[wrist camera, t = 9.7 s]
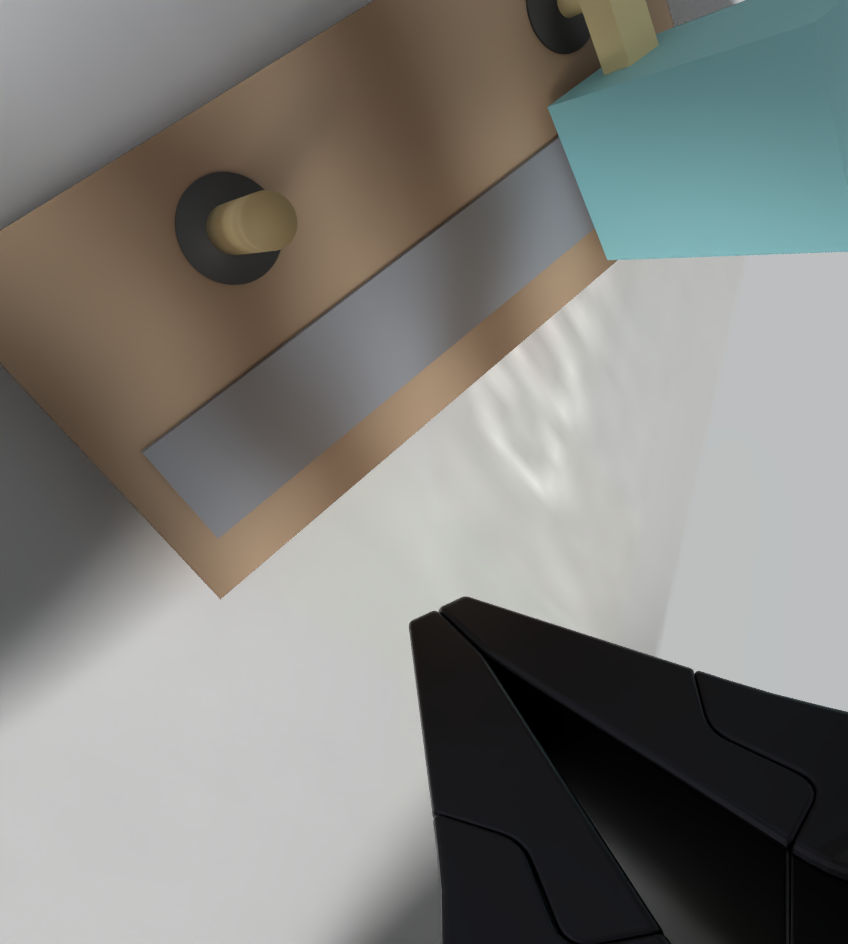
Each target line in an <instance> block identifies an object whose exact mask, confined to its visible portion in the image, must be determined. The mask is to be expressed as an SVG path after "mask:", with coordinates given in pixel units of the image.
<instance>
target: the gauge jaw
mask: <svg viewBox="0 0 848 944" xmlns="http://www.w3.org/2000/svg"><path fill="white" fill-rule="evenodd" d="M557 5H558V8H559V11H560V12H561V14H562V15H563V16H564V17H566V18H572V17H574V16H576V15H578V14H580V13H583V15H584V18H585V21H586V24H587V27H588V30H589V33H590V35H591V38H592V41H593V44H594V47H595V50H596V53H597V56H598V59H599V62H600V64H601V68H600V69H598V70H597V71H596V72H594V73H593V74H592V75H590V76H589V77H588V78H586V79H585V80H583V81H582V82H581V83H579V84H578V85H577V86H575V87H574V88H573V89H571V90H570V91H569V92H567V93H566V94H564V95H563V96H562V97H560V98H559V99H558V100H556V101H555V102H554V103H552V104H551V105H549V106H548V110H549V112H550V115H551V117H552V120H553V123H554V125H555V128H556V130H557V133H558V135H559V138H560V140H561V143H562V146H563V148H564V151H565V153H566V156H567V158H568V161H569V163H570V166H571V169H572V171H573V174H574V176H575V179H576V181H577V184H578V186H579V189H580V191H581V194H582V197H583V199H584V202H585V204H586V207H587V209H588V212H589V214H590V217H591V220H592V222H593V225H594V227H595V230H596V232H597V235H598V237H599V240H600V243H601V245H602V248H603V250H604V253H605V255H606V258H607V260H628V259H656V258H683V257H711V256H739V255H767V254H794V253H822V252H848V0H745V1H743V2H740V3H738V4H735V5H732V6H730V7H727V8H724V9H722V10H719V11H716V12H714V13H711V14H708V15H706V16H703V17H700V18H698V19H695V20H692V21H690V22H687V23H684V24H682V25H679V26H676V27H674V28H671V29H668V30H666V31H663V32H660V33H658V34H656V33H655V30H654V27H653V24H652V20H651V17H650V14H649V10H648V7H647V4H646V0H557Z"/></svg>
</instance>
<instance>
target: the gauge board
mask: <svg viewBox="0 0 848 944" xmlns="http://www.w3.org/2000/svg"><path fill="white" fill-rule="evenodd" d="M646 4H647V7H648V10H649V14H650V17H651V20H652V24H653V27H654V30H655V33H656V34H658V33H660V32H663V31H666V30H668V29H671V28H674V25H673V21H672V18H671V14H670V11H669V7H668V4H667V1H666V0H646ZM600 68H601V64H600V62H599V59H598V56H597V53H596V50H595V47H594V44H593V41H592V38H591V35H590V33H589V30H588V27H587V24H586V21H585V18H584V15H583V13H580V14H578V15H576V16H574V17H572V18H566V17H564V16H563V15H562V14H561V12H560V11H559V8H558V5H557V0H374V1H372V2H371V3H369V4H367V5H366V6H364V7H362V8H361V9H359V10H358V11H356V12H354V13H353V14H351V15H349V16H348V17H346V18H345V19H343V20H341V21H340V22H338V23H336V24H335V25H333V26H332V27H330V28H328V29H327V30H325V31H323V32H322V33H320V34H319V35H317V36H315V37H314V38H312V39H310V40H309V41H307V42H306V43H304V44H302V45H301V46H299V47H298V48H296V49H294V50H293V51H291V52H289V53H288V54H286V55H285V56H283V57H281V58H280V59H278V60H276V61H275V62H273V63H272V64H270V65H268V66H267V67H265V68H263V69H262V70H260V71H259V72H257V73H255V74H254V75H252V76H250V77H249V78H247V79H246V80H244V81H242V82H241V83H239V84H237V85H236V86H234V87H233V88H231V89H229V90H228V91H226V92H224V93H223V94H221V95H220V96H218V97H216V98H215V99H213V100H211V101H210V102H208V103H207V104H205V105H203V106H202V107H200V108H199V109H197V110H195V111H194V112H192V113H190V114H189V115H187V116H186V117H184V118H182V119H181V120H179V121H177V122H176V123H174V124H173V125H171V126H169V127H168V128H166V129H164V130H163V131H161V132H160V133H158V134H156V135H155V136H153V137H151V138H150V139H148V140H147V141H145V142H143V143H142V144H140V145H138V146H137V147H135V148H134V149H132V150H130V151H129V152H127V153H125V154H124V155H122V156H121V157H119V158H117V159H116V160H114V161H113V162H111V163H109V164H108V165H106V166H104V167H103V168H101V169H100V170H98V171H96V172H95V173H93V174H91V175H90V176H88V177H87V178H85V179H83V180H82V181H80V182H78V183H77V184H75V185H74V186H72V187H70V188H69V189H67V190H65V191H64V192H62V193H61V194H59V195H57V196H56V197H54V198H52V199H51V200H49V201H48V202H46V203H44V204H43V205H41V206H39V207H38V208H36V209H35V210H33V211H31V212H30V213H28V214H26V215H25V216H23V217H22V218H20V219H18V220H17V221H15V222H14V223H12V224H10V225H9V226H7V227H5V228H4V229H2V230H1V231H0V364H1V365H2V366H3V367H4V368H5V369H6V370H7V371H8V372H9V373H10V374H11V375H12V376H13V378H14V379H15V380H16V381H17V382H18V383H19V384H20V385H21V386H22V387H23V388H24V389H25V390H26V391H27V393H28V394H29V395H30V396H31V397H32V398H33V399H34V400H35V401H36V402H37V403H38V404H39V405H40V406H41V408H42V409H43V410H44V411H45V412H46V413H47V414H48V415H49V416H50V417H51V418H52V419H53V420H54V421H55V423H56V424H57V425H58V426H59V427H60V428H61V429H62V430H63V431H64V432H65V433H66V434H67V435H68V436H69V438H70V439H71V440H72V441H73V442H74V443H75V444H76V445H77V446H78V447H79V448H80V449H81V450H82V451H83V453H84V454H85V455H86V456H87V457H88V458H89V459H90V460H91V461H92V462H93V463H94V464H95V465H96V466H97V468H98V469H99V470H100V471H101V472H102V473H103V474H104V475H105V476H106V477H107V478H108V479H109V480H110V481H111V483H112V484H113V485H114V486H115V487H116V488H117V489H118V490H119V491H120V492H121V493H122V494H123V495H124V496H125V498H126V499H127V500H128V501H129V502H130V503H131V504H132V505H133V506H134V507H135V508H136V509H137V510H138V511H139V513H140V514H141V515H142V516H143V517H144V518H145V519H146V520H147V521H148V522H149V523H150V524H151V525H152V526H153V528H154V529H155V530H156V531H157V532H158V533H159V534H160V535H161V536H162V537H163V538H164V539H165V540H166V541H167V543H168V544H169V545H170V546H171V547H172V548H173V549H174V550H175V551H176V552H177V553H178V554H179V555H180V556H181V558H182V559H183V560H184V561H185V562H186V563H187V564H188V565H189V566H190V567H191V568H192V569H193V570H194V571H195V573H196V574H197V575H198V576H199V577H200V578H201V579H202V580H203V581H204V582H205V583H206V584H207V585H208V586H209V588H210V589H211V590H212V591H213V592H214V593H215V594H216V595H217V596H218V597H219V598H220V599H221V598H222V597H224V596H225V595H226V594H227V593H228V592H230V591H231V590H232V589H233V588H234V587H235V586H237V585H238V584H239V583H240V582H241V581H242V580H244V579H245V578H246V577H247V576H248V575H249V574H251V573H252V572H253V571H254V570H255V569H256V568H258V567H259V566H260V565H261V564H262V563H263V562H265V561H266V560H267V559H268V558H269V557H271V556H272V555H273V554H274V553H275V552H276V551H278V550H279V549H280V548H281V547H282V546H283V545H285V544H286V543H287V542H288V541H289V540H290V539H292V538H293V537H294V536H295V535H296V534H297V533H299V532H300V531H301V530H302V529H303V528H304V527H306V526H307V525H308V524H309V523H310V522H311V521H313V520H314V519H315V518H316V517H317V516H319V515H320V514H321V513H322V512H323V511H324V510H326V509H327V508H328V507H329V506H330V505H331V504H333V503H334V502H335V501H336V500H337V499H338V498H340V497H341V496H342V495H343V494H344V493H345V492H347V491H348V490H349V489H350V488H351V487H352V486H354V485H355V484H356V483H357V482H358V481H360V480H361V479H362V478H363V477H364V476H365V475H367V474H368V473H369V472H370V471H371V470H372V469H374V468H375V467H376V466H377V465H378V464H379V463H381V462H382V461H383V460H384V459H385V458H386V457H388V456H389V455H390V454H391V453H392V452H393V451H395V450H396V449H397V448H398V447H399V446H400V445H402V444H403V443H404V442H405V441H406V440H408V439H409V438H410V437H411V436H412V435H413V434H415V433H416V432H417V431H418V430H419V429H420V428H422V427H423V426H424V425H425V424H426V423H427V422H429V421H430V420H431V419H432V418H433V417H434V416H436V415H437V414H438V413H439V412H440V411H441V410H443V409H444V408H445V407H446V406H447V405H449V404H450V403H451V402H452V401H453V400H454V399H456V398H457V397H458V396H459V395H460V394H461V393H463V392H464V391H465V390H466V389H467V388H468V387H470V386H471V385H472V384H473V383H474V382H475V381H477V380H478V379H479V378H480V377H481V376H482V375H484V374H485V373H486V372H487V371H488V370H489V369H491V368H492V367H493V366H494V365H495V364H497V363H498V362H499V361H500V360H501V359H502V358H504V357H505V356H506V355H507V354H508V353H509V352H511V351H512V350H513V349H514V348H515V347H516V346H518V345H519V344H520V343H521V342H522V341H523V340H525V339H526V338H527V337H528V336H529V335H530V334H532V333H533V332H534V331H535V330H536V329H538V328H539V327H540V326H541V325H542V324H543V323H545V322H546V321H547V320H548V319H549V318H550V317H552V316H553V315H554V314H555V313H556V312H557V311H559V310H560V309H561V308H562V307H563V306H564V305H566V304H567V303H568V302H569V301H570V300H571V299H573V298H574V297H575V296H576V295H577V294H579V293H580V292H581V291H582V290H583V289H584V288H586V287H587V286H588V285H589V284H590V283H591V282H593V281H594V280H595V279H596V278H597V277H598V276H600V275H601V274H602V273H603V272H604V271H605V270H607V269H608V268H609V267H610V266H611V265H612V264H614V263H615V262H616V261H617V260H607V258H606V255H605V253H604V250H603V248H602V245H601V243H600V240H599V237H598V235H597V232H596V230H595V227H594V225H593V222H592V220H591V217H590V214H589V212H588V209H587V207H586V204H585V202H584V199H583V197H582V194H581V191H580V189H579V186H578V184H577V181H576V179H575V176H574V174H573V171H572V169H571V166H570V163H569V161H568V158H567V156H566V153H565V151H564V148H563V146H562V143H561V140H560V138H559V135H558V133H557V130H556V128H555V125H554V123H553V120H552V117H551V115H550V112H549V110H548V106H549V105H551V104H552V103H554V102H555V101H556V100H558V99H559V98H560V97H562V96H563V95H564V94H566V93H567V92H569V91H570V90H571V89H573V88H574V87H575V86H577V85H578V84H579V83H581V82H582V81H583V80H585V79H586V78H588V77H589V76H590V75H592V74H593V73H594V72H596V71H597V70H598V69H600Z"/></svg>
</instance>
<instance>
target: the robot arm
mask: <svg viewBox="0 0 848 944" xmlns="http://www.w3.org/2000/svg"><path fill="white" fill-rule="evenodd" d="M409 632H410V639H411V647H412V655H413V663H414V671H415V679H416V687H417V695H418V703H419V711H420V719H421V727H422V735H423V743H424V750H425V758H426V766H427V774H428V782H429V790H430V798H431V806H432V814H433V818H434V820H433V825H434V833H435V841H436V849H437V859H438V871H439V883H440V901H441V944H848V712H846V711H841V710H837V709H833V708H829V707H824V706H820V705H816V704H812V703H808V702H805V701H800V700H797V699H793V698H789V697H785V696H781V695H777V694H773V693H770V692H766V691H763V690H760V689H756V688H752V687H749V686H746V685H742V684H739V683H736V682H732V681H729V680H726V679H723V678H720V677H716V676H714V675H710V674H707V673H704V672H701V671H697V672H696V673H695V674H694V671H693V670H692V669H691V668H688V667H685V666H681V665H679V664H676V663H672V662H669V661H666V660H663V659H660V658H657V657H654V656H651V655H648V654H644V653H641V652H638V651H635V650H632V649H629V648H626V647H623V646H620V645H617V644H613V643H610V642H607V641H604V640H601V639H598V638H595V637H592V636H589V635H585V634H582V633H579V632H576V631H573V630H570V629H567V628H564V627H561V626H558V625H554V624H551V623H548V622H545V621H542V620H539V619H536V618H533V617H530V616H526V615H523V614H520V613H517V612H514V611H511V610H508V609H505V608H502V607H499V606H495V605H492V604H489V603H486V602H483V601H480V600H477V599H474V598H471V597H461V598H459V599H457V600H455V601H453V602H451V603H449V604H446V605H444V606H442V607H441V608H440V609H439V612H437V611H432V612H429V613H427V614H425V615H423V616H421V617H419V618H417V619H414V620H412V621H411V622H410V624H409Z"/></svg>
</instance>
